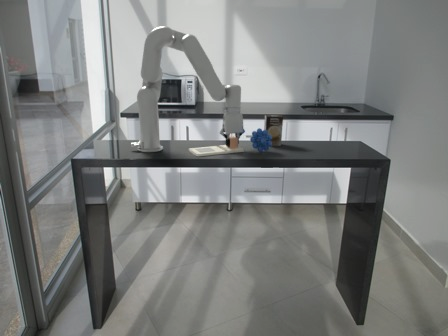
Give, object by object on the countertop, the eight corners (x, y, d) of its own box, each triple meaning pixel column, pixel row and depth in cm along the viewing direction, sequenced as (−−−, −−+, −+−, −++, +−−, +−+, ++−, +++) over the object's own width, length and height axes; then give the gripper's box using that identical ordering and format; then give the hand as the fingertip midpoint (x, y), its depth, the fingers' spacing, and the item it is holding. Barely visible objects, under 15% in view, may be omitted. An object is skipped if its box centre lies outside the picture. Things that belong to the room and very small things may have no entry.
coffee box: (264, 145, 192) (266, 116, 187) (262, 143, 198) (264, 114, 193) (281, 146, 192) (283, 116, 187) (279, 143, 198) (281, 114, 194)
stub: (229, 153, 176) (229, 140, 174) (219, 147, 186) (219, 136, 184) (243, 151, 179) (243, 139, 177) (232, 146, 189) (233, 134, 188)
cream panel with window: (197, 156, 169) (197, 154, 169) (188, 150, 179) (188, 148, 179) (227, 153, 175) (227, 150, 175) (217, 148, 186) (217, 145, 185)
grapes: (252, 154, 175) (253, 130, 171) (248, 150, 181) (249, 127, 177) (274, 153, 177) (276, 129, 173) (270, 150, 183) (271, 127, 180)
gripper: (220, 112, 170) (220, 149, 176) (251, 110, 177) (249, 146, 183) (214, 110, 177) (214, 145, 182) (244, 108, 184) (243, 143, 189)
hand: (232, 145), depth 182 cm, fingers closed on stub, 4 cm apart
